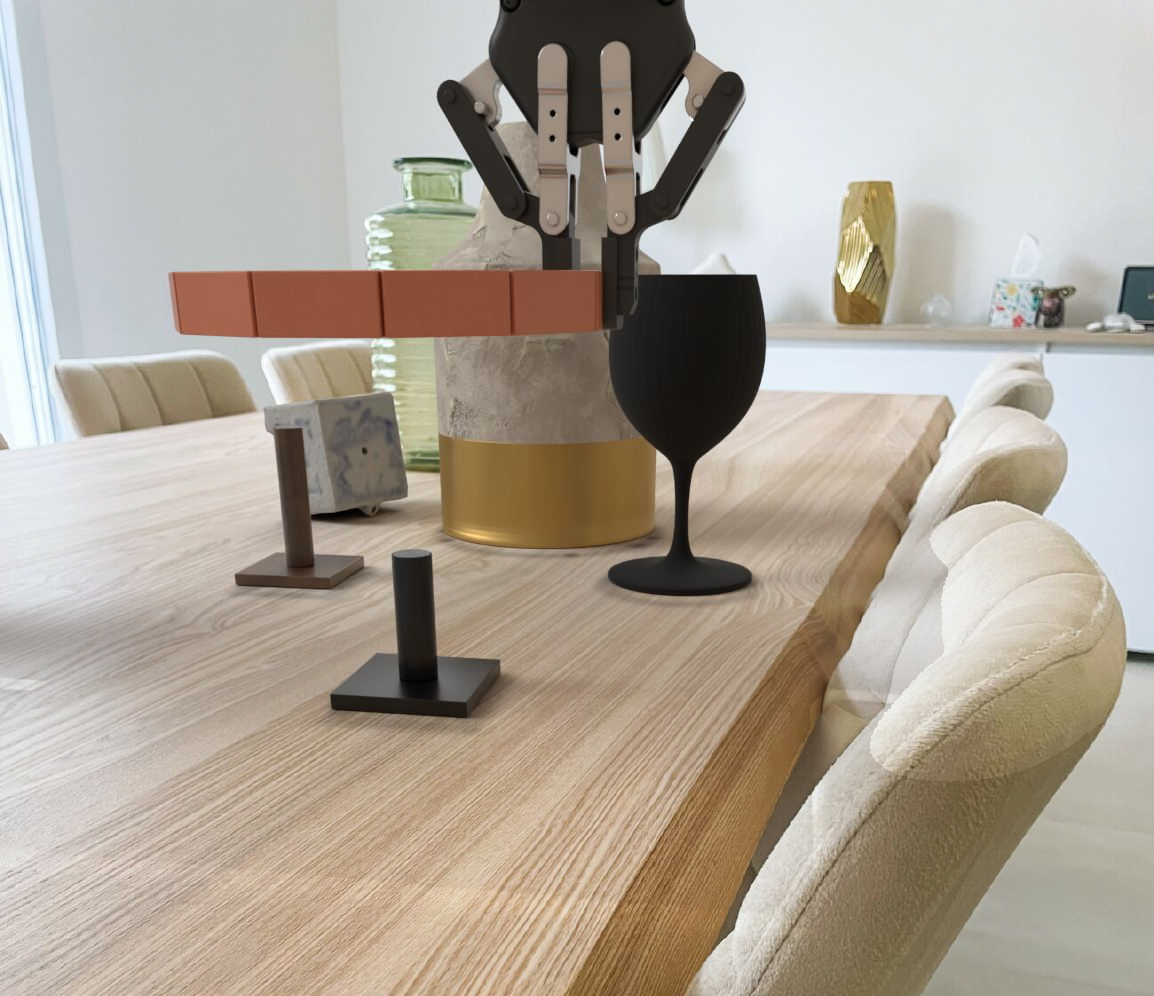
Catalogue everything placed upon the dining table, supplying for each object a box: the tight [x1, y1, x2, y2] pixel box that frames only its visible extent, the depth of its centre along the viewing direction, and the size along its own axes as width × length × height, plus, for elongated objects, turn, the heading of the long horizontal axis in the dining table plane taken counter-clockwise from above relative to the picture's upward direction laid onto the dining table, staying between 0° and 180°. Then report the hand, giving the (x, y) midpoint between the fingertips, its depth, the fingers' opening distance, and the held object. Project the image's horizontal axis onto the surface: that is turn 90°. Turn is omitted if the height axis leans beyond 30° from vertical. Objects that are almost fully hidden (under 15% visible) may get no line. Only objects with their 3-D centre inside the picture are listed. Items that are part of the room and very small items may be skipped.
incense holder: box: [262, 391, 409, 517], centre depth 104 cm, size 10×8×10 cm
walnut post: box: [234, 425, 365, 590], centre depth 81 cm, size 7×7×10 cm
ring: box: [167, 269, 603, 339], centre depth 53 cm, size 19×19×2 cm
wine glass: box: [607, 273, 767, 596], centre depth 79 cm, size 10×10×20 cm
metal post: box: [329, 548, 501, 718], centre depth 59 cm, size 7×7×7 cm
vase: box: [430, 120, 662, 549], centre depth 94 cm, size 18×18×30 cm
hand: (591, 327), depth 52 cm, fingers closed on ring, 1 cm apart
